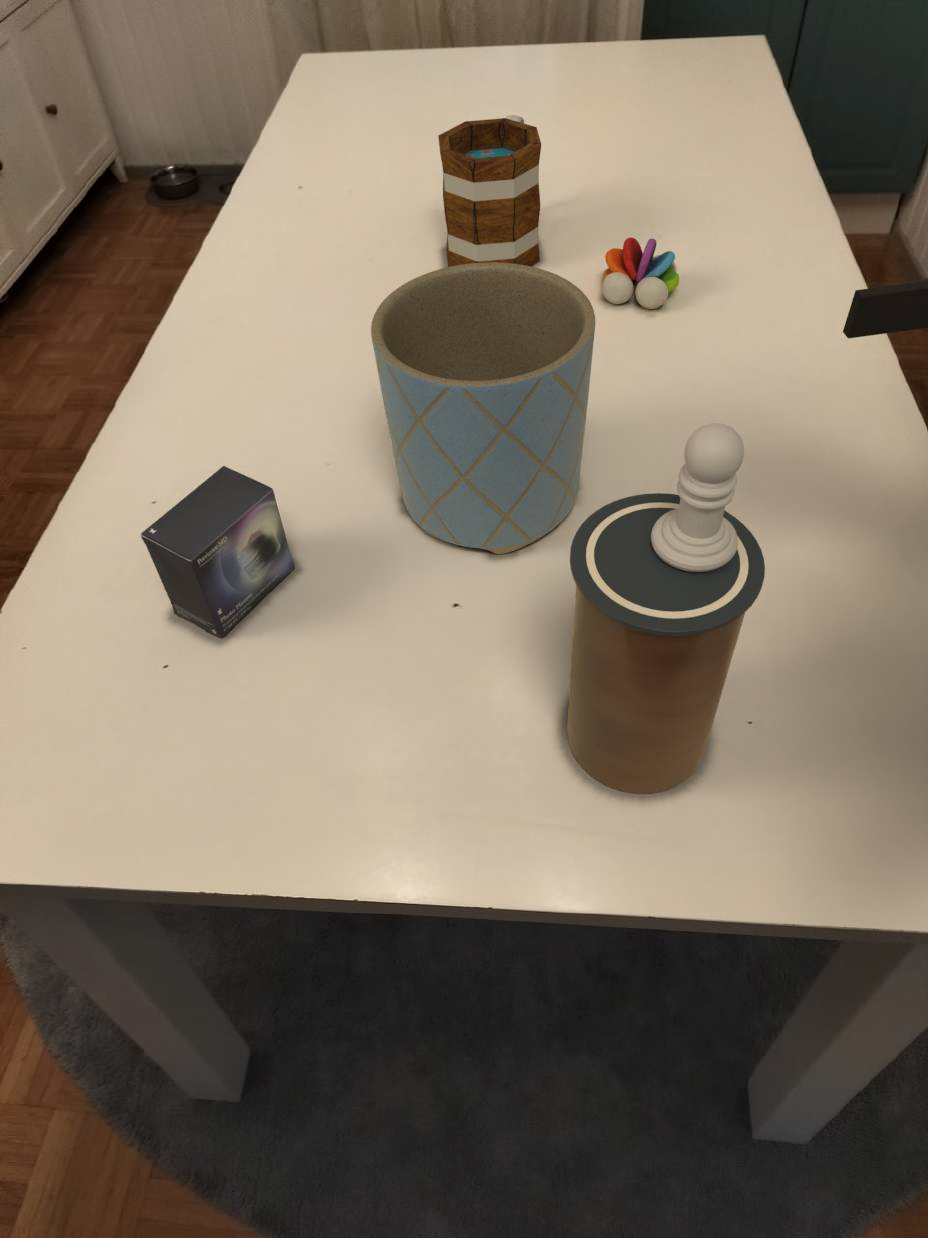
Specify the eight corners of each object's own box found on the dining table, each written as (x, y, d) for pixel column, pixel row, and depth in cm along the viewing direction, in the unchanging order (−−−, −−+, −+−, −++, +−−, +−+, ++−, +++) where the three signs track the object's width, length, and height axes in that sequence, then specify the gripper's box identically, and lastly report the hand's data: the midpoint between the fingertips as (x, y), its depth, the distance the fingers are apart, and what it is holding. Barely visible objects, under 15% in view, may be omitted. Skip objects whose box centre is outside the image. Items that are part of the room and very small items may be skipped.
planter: (359, 512, 89) (324, 338, 74) (471, 414, 99) (461, 241, 83) (512, 591, 81) (508, 414, 66) (619, 477, 91) (638, 298, 75)
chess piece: (732, 516, 57) (760, 401, 50) (740, 577, 54) (771, 463, 47) (648, 514, 58) (665, 400, 51) (651, 574, 54) (669, 460, 47)
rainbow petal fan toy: (610, 272, 116) (614, 217, 111) (683, 282, 114) (691, 227, 108) (592, 305, 112) (596, 250, 106) (668, 317, 109) (676, 261, 103)
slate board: (805, 589, 54) (807, 583, 53) (638, 665, 51) (639, 660, 50) (687, 475, 61) (688, 470, 60) (535, 536, 58) (535, 531, 57)
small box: (224, 643, 79) (190, 562, 71) (172, 615, 82) (134, 534, 74) (299, 568, 85) (275, 486, 77) (249, 544, 87) (221, 462, 79)
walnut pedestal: (734, 757, 69) (793, 586, 54) (614, 817, 66) (641, 656, 51) (653, 659, 76) (685, 482, 60) (542, 710, 73) (545, 539, 57)
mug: (526, 286, 115) (525, 167, 104) (429, 274, 119) (419, 158, 107) (564, 216, 127) (567, 103, 116) (475, 207, 130) (470, 96, 119)
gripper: (1412, 534, 44) (1003, 598, 42) (1101, 279, 60) (798, 320, 58) (1547, 409, 38) (1078, 478, 37) (1163, 164, 54) (828, 207, 53)
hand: (905, 381), depth 47 cm, fingers open, 13 cm apart
